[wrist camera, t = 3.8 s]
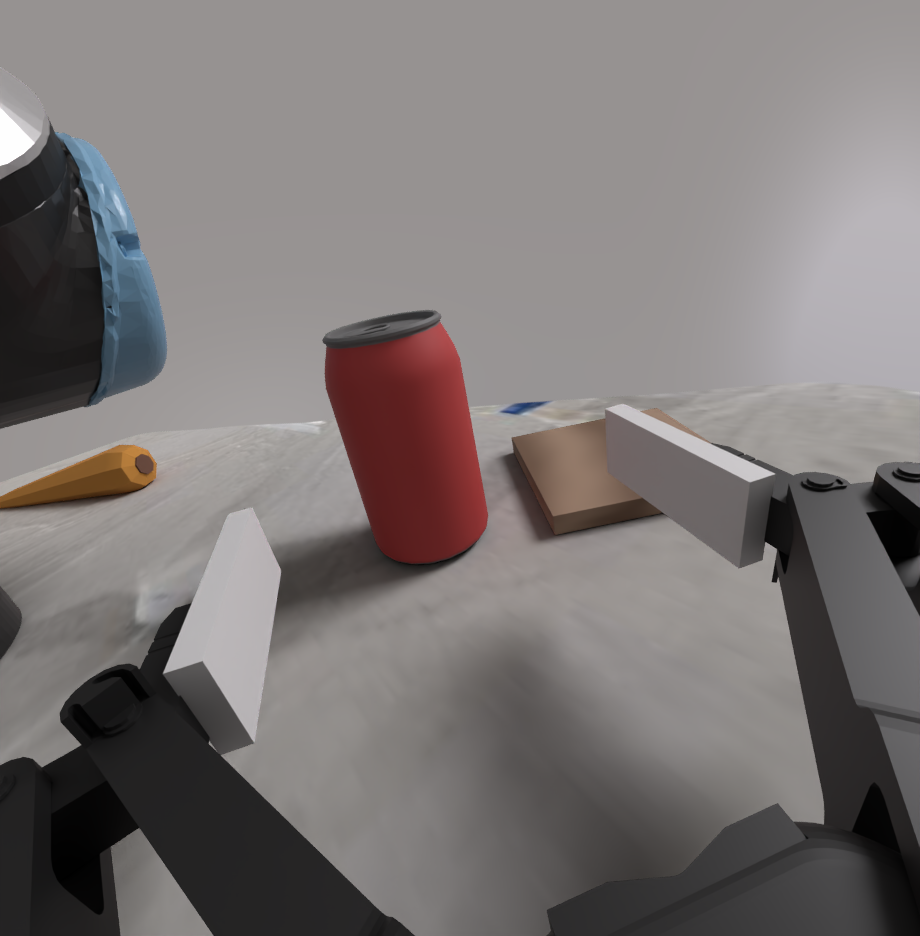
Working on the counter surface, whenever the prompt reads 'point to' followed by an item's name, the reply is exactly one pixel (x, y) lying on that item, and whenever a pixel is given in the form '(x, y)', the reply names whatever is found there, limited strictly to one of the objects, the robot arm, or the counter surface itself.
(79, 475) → the carrot
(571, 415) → the counter surface
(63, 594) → the counter surface
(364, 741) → the counter surface
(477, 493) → the beer can
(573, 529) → the walnut board
